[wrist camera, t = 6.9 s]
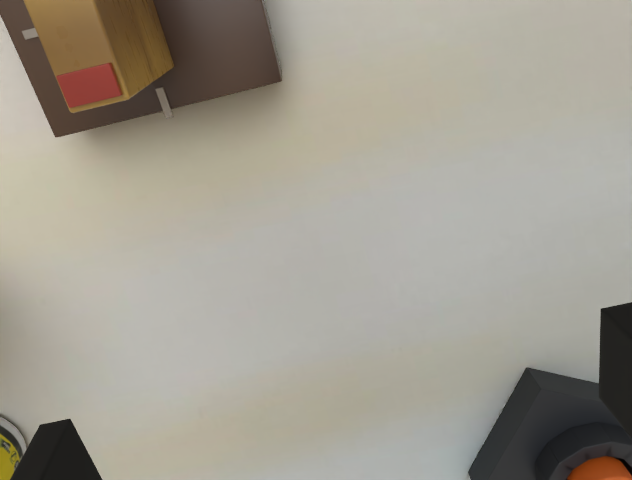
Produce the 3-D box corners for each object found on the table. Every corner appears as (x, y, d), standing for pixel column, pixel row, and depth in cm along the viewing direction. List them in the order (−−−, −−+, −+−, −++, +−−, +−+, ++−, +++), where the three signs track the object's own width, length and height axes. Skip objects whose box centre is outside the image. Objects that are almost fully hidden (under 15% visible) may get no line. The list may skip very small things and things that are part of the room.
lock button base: (675, 400, 39) (716, 443, 35) (605, 497, 43) (636, 544, 39) (526, 367, 37) (553, 408, 33) (467, 472, 40) (486, 519, 37)
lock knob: (83, -58, 22) (-17, -83, 15) (130, -70, 22) (54, -101, 15) (132, 77, 24) (66, 115, 17) (174, 67, 24) (128, 101, 17)
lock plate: (228, -143, 24) (221, -161, 21) (283, 79, 28) (284, 89, 25) (-9, -79, 24) (-49, -89, 21) (79, 130, 28) (57, 146, 25)
